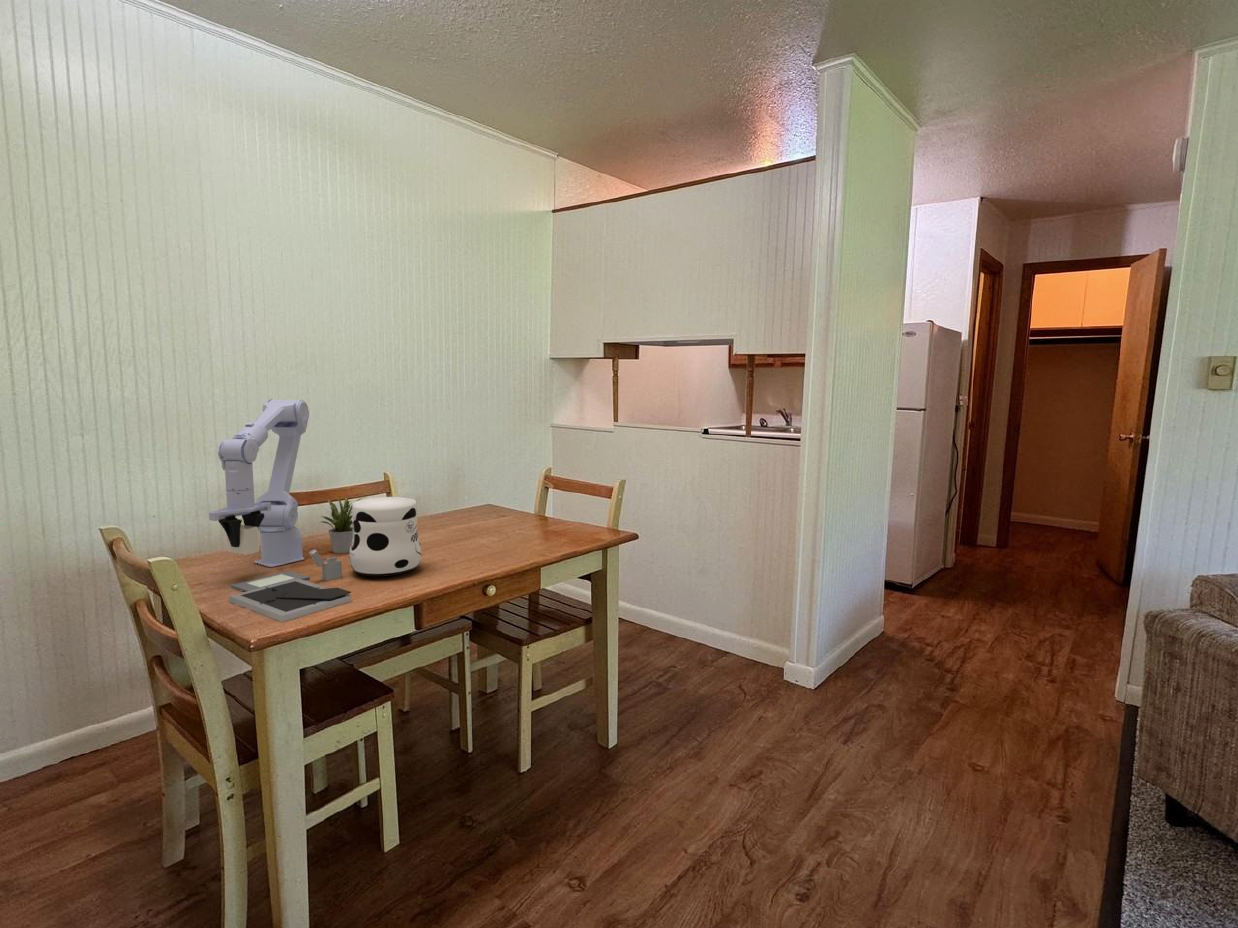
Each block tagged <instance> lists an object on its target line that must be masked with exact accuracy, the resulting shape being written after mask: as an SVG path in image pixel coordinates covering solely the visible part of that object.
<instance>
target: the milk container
mask: <svg viewBox="0 0 1238 928" xmlns="http://www.w3.org/2000/svg"><path fill="white" fill-rule="evenodd" d="M352 504H353V505H352ZM352 504H351V506H352V510H351V512H352V513H351V515H352V518H351V520H352V524H351V527H352V530H353V538H352V543H351V547H350V552H349V553H348V554H349V555H348V556H349V562H350V567H351V569H352V571H354V572H356V573H357V574H359V575H361V576H368V577H380V578H381V577H391V576H398V575H402V574H405V573H410V572H412V571H413V570H416V568H417V567H418V566H419V565H420V563H421V559H422V546H421V541H420V538H419V535H418V505H417V501H416V500H415V499H414V498H410V497H405V496H404V497H403V496H379V497H378V496H377V497H369V498H363V499H361V500H359V501H356V500H355V501H354V502H352Z"/></svg>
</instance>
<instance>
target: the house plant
mask: <svg viewBox="0 0 1238 928" xmlns="http://www.w3.org/2000/svg"><path fill="white" fill-rule="evenodd" d="M335 498H336V499H337V501H338V503H339V508H340V512H339V511H338V510H339V509H338V507H337V506H336V504H335V503H333V502H332V501H331V500H330V499H326V501H327V502H328V504H329V505H330V507H329V508H330V510H331V513H330V512H329V514H331V515H330V516H331V517H332V518H330V517H328V516H324V515H320V517H321V518H323V519H324V520H327V521H324V520H321V521H319V524H320V523H323V524H326V525H330V527H331V528H330V529H329V530H328V535H329V539H330V543H331V549H332V552H333V553H334V554H349V552H350V547H351V543H352V538H353V530H352V505H353V502H351V500H349V499H348V496H346V497H345V498H344V504H343V503H342V501H341V499H340V498H339V496H338V495H335ZM362 499H367V496H364V497H360V498H358V499H356V500H355V501H359V500H362ZM350 502H351V503H350ZM317 506H320V507H322V508H324V506H323V505H321V504H318V503H317ZM325 510H326V511H328V510H327V509H326V508H325Z"/></svg>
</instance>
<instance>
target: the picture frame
mask: <svg viewBox="0 0 1238 928" xmlns="http://www.w3.org/2000/svg"><path fill="white" fill-rule="evenodd" d="M228 599H229V603H231V604H233V603H234V605H236V604H237V605H236V606H238V605H240V606H239V607H241V606H243V607H242V608H244V607H245V608H244V609H246V608H248V609H247V610H249V609H250V610H249V611H251V610H253V611H252V612H254V611H256V612H258V613H257V614H259V613H260V614H259V615H262V616H264V615H265V617H267V618H269V617H270V618H269V619H272V620H275V619H276V620H275V621H277V620H279V621H278V622H280V621H281V622H280V623H284V622H283V621H285V622H288V621H287V620H289V621H292V620H296V619H298V618H302V617H305V616H308V615H311V614H314V613H318V612H321V611H324V610H328V609H331V608H334V607H336V606H337V607H338V606H341V605H343V604H347V603H350V602H352V601H353V600H352V591H350V590H346V589H343V588H340V587H326V586H324V585H320V584H317V583H314V582H310V581H309V580H306V581H305V580H301V579H298V578H297V579H294V580H290V581H286V582H282V583H278V584H274V585H270V586H266V587H262V588H258V589H255V590H251V591H247V592H243V591H242V592H240V593H237V594H232V595H228ZM256 612H255V613H256ZM291 619H292V620H291Z"/></svg>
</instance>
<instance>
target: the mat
mask: <svg viewBox="0 0 1238 928" xmlns="http://www.w3.org/2000/svg"><path fill="white" fill-rule="evenodd" d="M297 578H298V579H301V580H305V581H309V580H311V577H310V576H308V575H305V574H300V573H297V572H293V571H290V570H286V571H282V572H277V573H273V574H270V575H266V576H262V577H259V578H258V577H257V578H254V579H250V580H245V581H242V582H236V583H234V584H231V585H230V588H231V589H233V590H236V591H237V590H238V591H240V590H242V591H241V592H243V591H246V592H247V591H251V590H255V589H258V588H262V587H266V586H270V585H274V584H278V583H282V582H286V581H290V580H294V579H297Z"/></svg>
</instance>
